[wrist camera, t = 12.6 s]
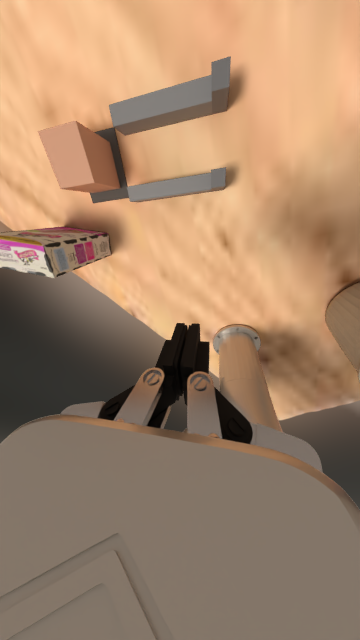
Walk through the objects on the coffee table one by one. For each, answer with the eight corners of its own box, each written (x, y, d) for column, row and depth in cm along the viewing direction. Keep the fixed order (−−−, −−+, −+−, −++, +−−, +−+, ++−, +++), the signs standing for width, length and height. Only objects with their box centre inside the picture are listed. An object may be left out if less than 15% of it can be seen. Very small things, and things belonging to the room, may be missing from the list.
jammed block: (120, 188, 30) (94, 182, 23) (92, 193, 31) (60, 188, 25) (109, 142, 27) (75, 120, 20) (79, 149, 28) (37, 131, 21)
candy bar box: (108, 231, 35) (43, 244, 22) (112, 255, 38) (56, 280, 25) (62, 224, 36) (-28, 233, 23) (69, 248, 39) (-7, 268, 26)
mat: (129, 197, 31) (129, 197, 31) (93, 203, 32) (93, 203, 32) (114, 127, 26) (113, 127, 26) (72, 138, 27) (72, 138, 27)
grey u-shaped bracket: (223, 189, 28) (225, 186, 23) (137, 202, 31) (124, 201, 26) (227, 87, 22) (230, 56, 17) (120, 116, 25) (100, 96, 20)
